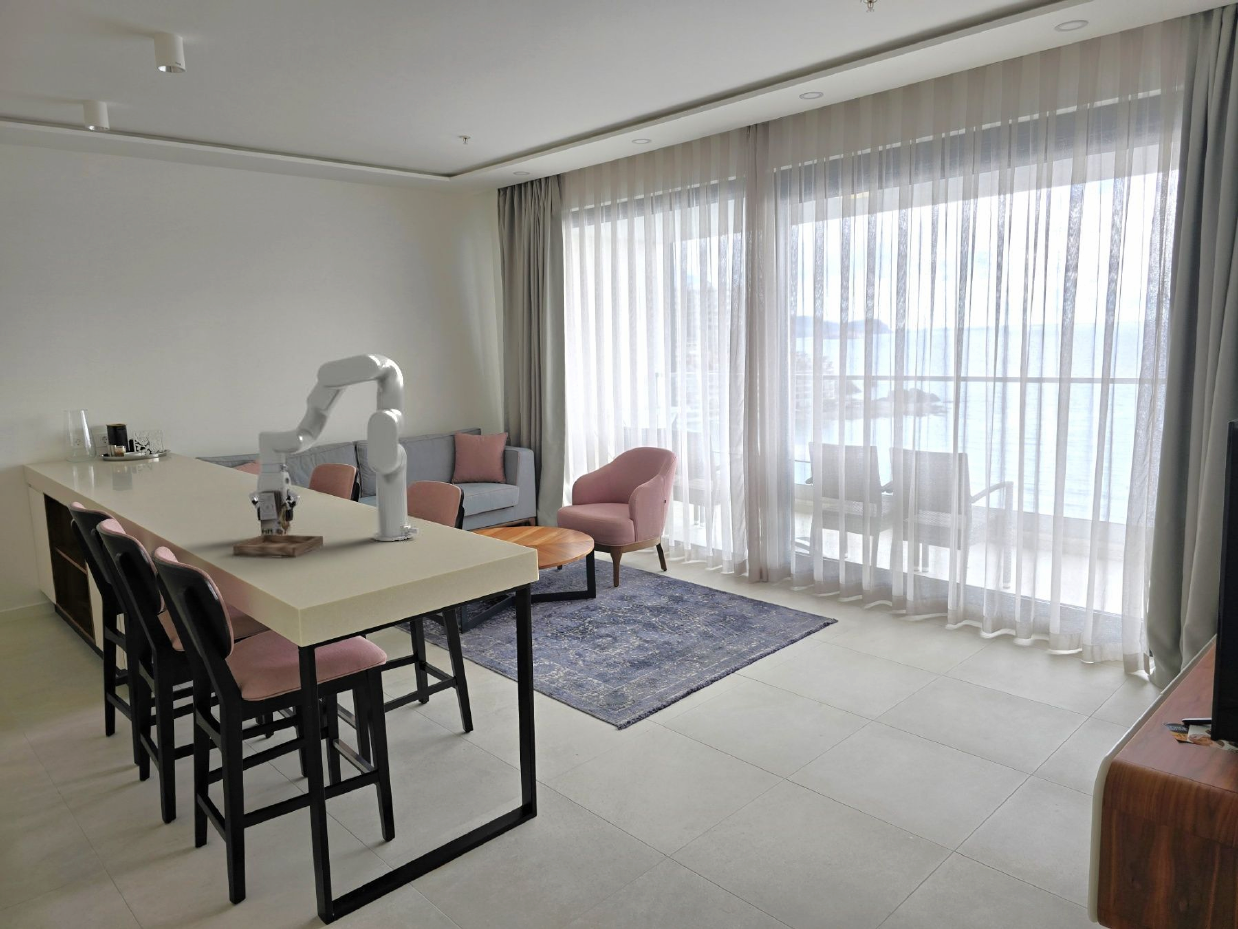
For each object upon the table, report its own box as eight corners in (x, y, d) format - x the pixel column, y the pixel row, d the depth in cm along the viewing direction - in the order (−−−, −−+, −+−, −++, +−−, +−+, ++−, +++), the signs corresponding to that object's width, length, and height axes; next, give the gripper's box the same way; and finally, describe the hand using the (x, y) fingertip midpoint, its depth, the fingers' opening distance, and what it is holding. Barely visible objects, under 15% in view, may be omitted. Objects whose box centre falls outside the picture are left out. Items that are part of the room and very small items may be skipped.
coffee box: (280, 541, 261) (277, 492, 259) (260, 541, 262) (257, 492, 260) (292, 535, 270) (290, 487, 268) (273, 535, 271) (270, 487, 269)
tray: (323, 545, 256) (322, 536, 256) (295, 557, 240) (295, 547, 240) (264, 543, 259) (264, 534, 259) (233, 555, 243) (233, 545, 243)
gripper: (303, 467, 265) (306, 519, 268) (255, 466, 268) (257, 517, 270) (291, 470, 258) (293, 523, 260) (241, 469, 261) (244, 521, 263)
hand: (275, 520), depth 265 cm, fingers open, 9 cm apart
